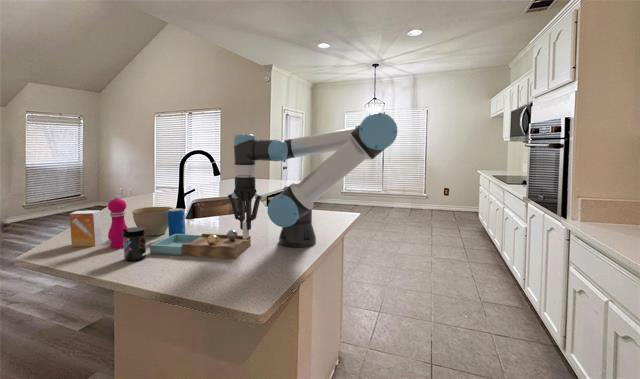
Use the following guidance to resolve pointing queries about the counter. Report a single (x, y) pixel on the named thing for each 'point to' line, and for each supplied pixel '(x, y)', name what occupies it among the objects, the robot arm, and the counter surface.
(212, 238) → the brass ball
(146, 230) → the planter bowl
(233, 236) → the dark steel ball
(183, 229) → the beverage can
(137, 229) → the supplement container
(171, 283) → the counter surface
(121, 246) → the pink tall rounded piece
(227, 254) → the walnut runway
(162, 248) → the tray
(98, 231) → the small box
